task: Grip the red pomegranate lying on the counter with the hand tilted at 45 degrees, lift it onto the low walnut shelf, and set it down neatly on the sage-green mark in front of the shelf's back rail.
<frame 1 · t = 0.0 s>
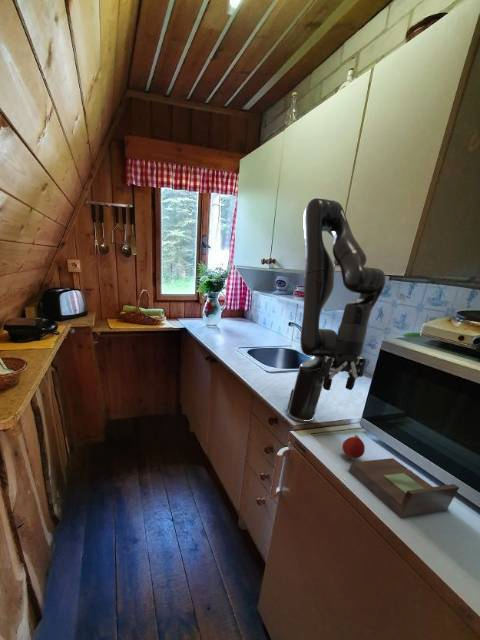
hand: (337, 389, 96), 17 cm above the counter, tool pointing down, fingers open, 8 cm apart
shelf: (394, 489, 81), on the counter
red pomegranate: (349, 458, 92), on the counter
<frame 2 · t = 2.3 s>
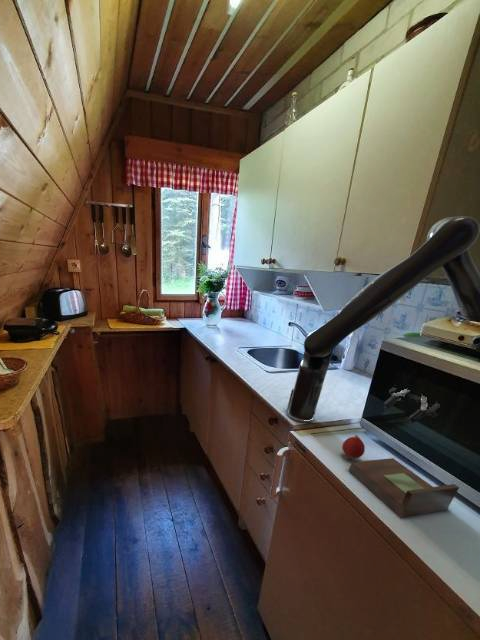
hand: (397, 413, 89), 15 cm above the counter, tool tilted 45°, fingers open, 8 cm apart
nothing on the counter moved.
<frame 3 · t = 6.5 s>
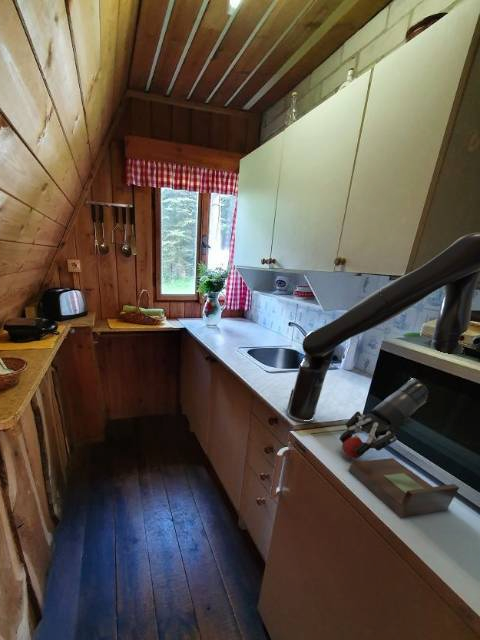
hand: (348, 446, 90), 4 cm above the counter, tool tilted 45°, fingers closed on red pomegranate, 5 cm apart
red pomegranate: (349, 458, 92), on the counter, touching gripper
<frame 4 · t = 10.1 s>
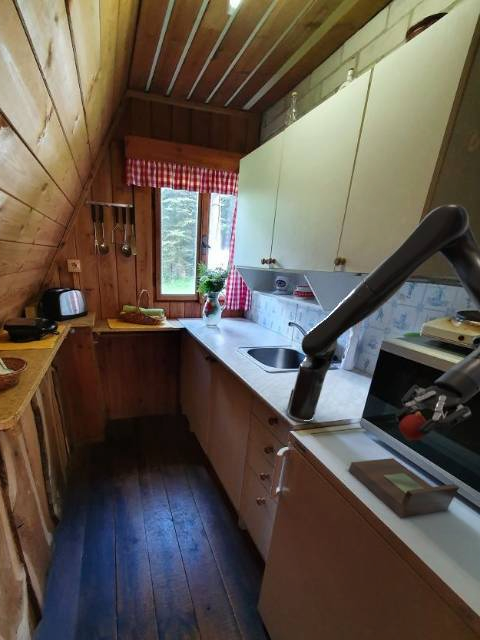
hand: (408, 425, 75), 18 cm above the counter, tool tilted 45°, fingers closed on red pomegranate, 5 cm apart
red pomegranate: (407, 440, 77), point 14 cm above the counter, touching gripper
when the fingers open (8 cm above the counter, at t = 13.9 s): red pomegranate stays where it is, resting on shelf.
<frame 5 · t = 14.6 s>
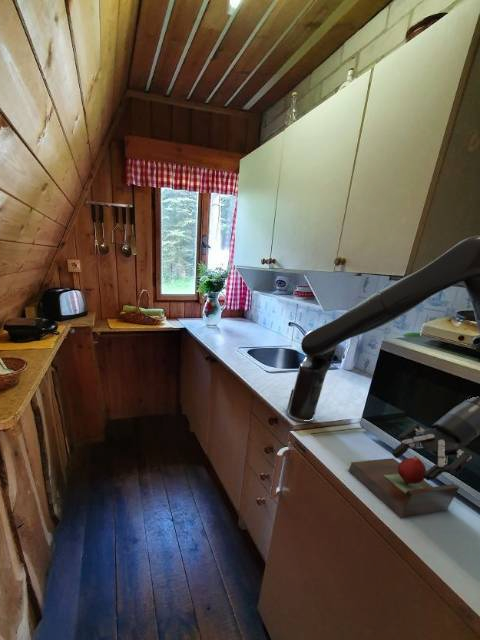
hand: (409, 466, 76), 8 cm above the counter, tool tilted 45°, fingers open, 8 cm apart
red pomegranate: (406, 483, 78), point 3 cm above the counter, touching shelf
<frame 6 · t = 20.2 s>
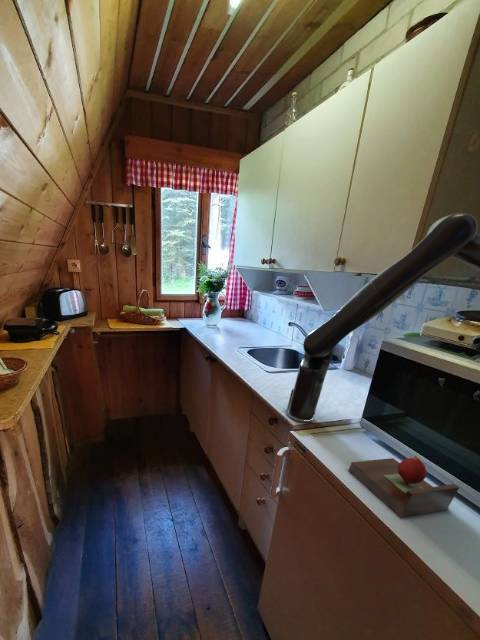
hand: (457, 390, 77), 27 cm above the counter, tool tilted 45°, fingers open, 8 cm apart
nothing on the counter moved.
at the end: red pomegranate 0.4 cm from the target spot, point 3.0 cm above the counter; red pomegranate tilted 0°; the gripper is holding nothing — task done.
